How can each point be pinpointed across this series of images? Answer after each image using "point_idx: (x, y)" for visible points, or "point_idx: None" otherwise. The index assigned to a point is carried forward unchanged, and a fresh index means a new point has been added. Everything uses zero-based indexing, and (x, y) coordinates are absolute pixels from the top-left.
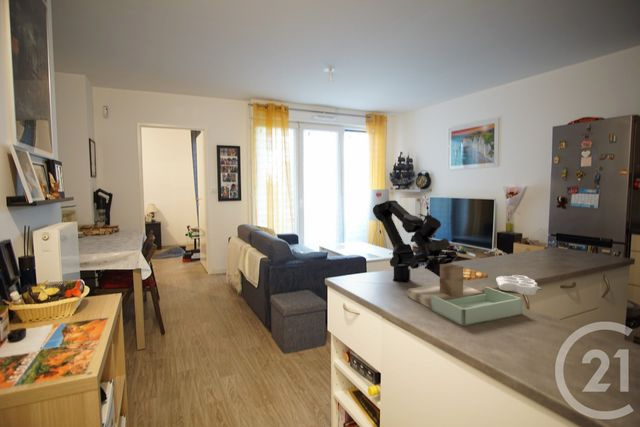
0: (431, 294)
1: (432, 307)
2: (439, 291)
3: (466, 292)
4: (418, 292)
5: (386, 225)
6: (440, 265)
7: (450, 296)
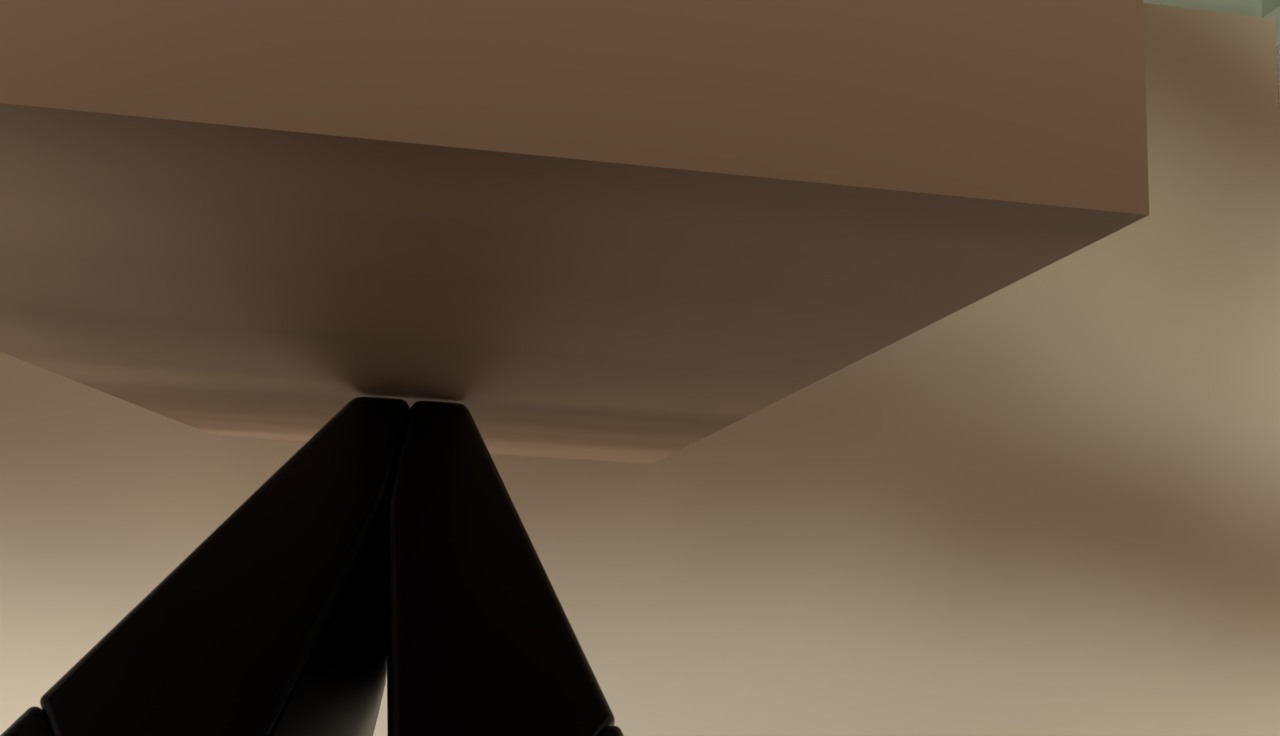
0: (1024, 378)
1: None
2: (647, 474)
3: None
4: (1237, 679)
5: None
6: (1087, 148)
7: None
